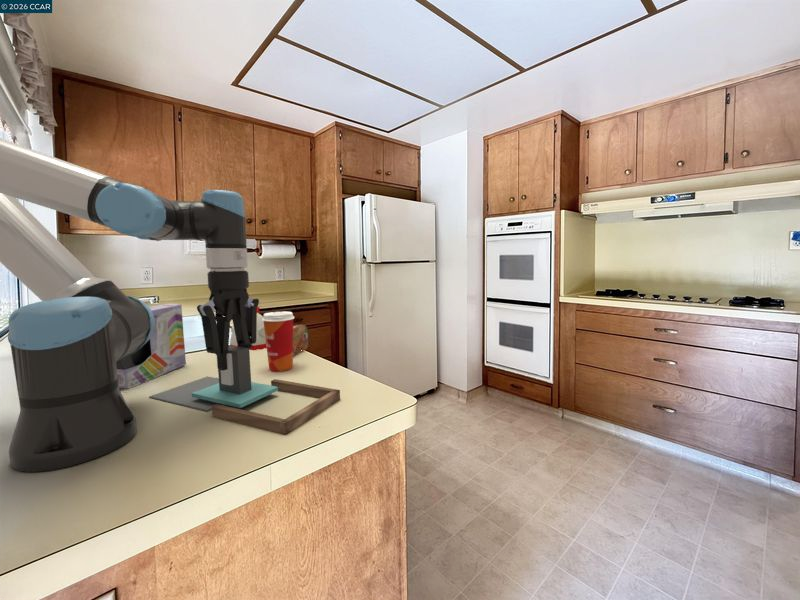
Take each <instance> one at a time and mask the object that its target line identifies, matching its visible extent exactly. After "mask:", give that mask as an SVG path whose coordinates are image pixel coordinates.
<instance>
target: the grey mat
mask: <svg viewBox="0 0 800 600" xmlns="http://www.w3.org/2000/svg"><path fill="white" fill-rule="evenodd" d="M218 383H219V377H218V378H217V377H212V376H205V377H201V378H199V379H196V380H193V381H190V382H187V383H183V384H181V385H179V386H176V387H173V388H170V389H167V390H164V391H161V392H158V393H155V394H153V395H149V399H153V400H157V401H161V402H166V403H170V404H175V405H178V406H182V407H187V408H191V409H194V410H195V409H196V410H199V411H204V412H209V411H212V406H214V405H217V404H219V405H223V406H224V404H221V403H216V402H212V401H208V400H203V399H199V398H195V397H192V394H191V393H193V392H196V391H199V390H201V389H204V388H207V387H210V386H212V385H215V384H218Z"/></svg>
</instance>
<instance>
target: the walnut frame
mask: <svg viewBox="0 0 800 600" xmlns="http://www.w3.org/2000/svg"><path fill="white" fill-rule="evenodd" d="M270 385H271V386H276V387H278V391H279V392H283V393H290V394H295V395H300V396H306V397H313V398H317V399H316V400H315V401H313V402H311V403H309V404H308V405H306V406H305V407H303V408H301V409H300V410H297V411H296V412H294V413H292V414H291V415H290V416H288V417H286V418H281V417H277V416H276V417H275V416H271V415H267V414H263V413H257V412H254V411H249V410H245V409H241V408H238V407H233V406H229V405H224V404H223V405H219V404H217V405H214V406H212V410H211V415H212V417H213V418H216V419H221V420H224V419H225V421H228V422H233V423H236V424H239V425H240V424H241V425H245V426H249V427H253V428H257V429H261V430H265V431H268V432H274V433H278V434H282V435H288V434H289V433H290V432H293V430H295V429H297V428H298V427H300V426H301V425H303V424H304V423H306V422H308V421H309V420H310V419H312V418H314V417H315V416H317V415H319V414H320V413H321V412H323V411H324V410H326V409H328V408H329V407H331V406H332V405H334V404H335V403H337V402H338V401H340V400H341V389H337V388H330V387H329V388H328V387H325V386H318V385H313V384H305V383H300V382H294V381H287V380H282V379H276V378H275V379H272V380H270ZM278 391H277V392H278Z"/></svg>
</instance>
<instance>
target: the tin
mask: <svg viewBox="0 0 800 600" xmlns="http://www.w3.org/2000/svg"><path fill="white" fill-rule="evenodd" d="M309 344H310V332H309V328H308V327H307V325H305V324H296V325H293V358H294V357H296V356H298V355H300V354H301V353H302V352H303V351H306V350H307V349H308V347H309ZM301 350H302V351H301Z"/></svg>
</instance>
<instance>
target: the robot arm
mask: <svg viewBox="0 0 800 600" xmlns="http://www.w3.org/2000/svg"><path fill="white" fill-rule="evenodd" d="M19 200H20V201H25V202H28V203H31V204H33V205H34V204H35V205H38V206H41V207H44V208H47V209H50V210H54V211H57V212H59V213H63V214H66V215H70V216H73V217H76V218H79V219H82V220H85V221H89V222H92V223H95V224H98V225H101V226H104V227H107V228H109V229H111V231H114V232H116V233H119V234H122V235H125V236H128V237H132V238H133V237H134V238H137V239H139V240H146V241H147V240H149V241H156V242H160V241H204V243H205V259H206V268H207V269H209V270H210V271H208V272H207V286H208V289H209V291H210V294H209V295H210V296H209V298H208V301H207V302H206V303H205V304H198V305H197V307H196V310H197V311H198V313H199V315H200V317H201V318H200V319H201V325H202V329H203V330H202V331H203V336H204V337H203V338H204V344H205V349H206V352H207V353H208V354H215V355H216V362H217V363H216V364H217V365H216V366H217V367H216V368H217V370H221V384H225V385H230V386H231V385H234V381H233V365H232V354H230V353H228V346H230V332H231V321H232V324H233V326H234V330H235V335H236V340H237V345H238V347H244V348H249V349H251V348H252V347H253V345H251V344H255V343H256V331H257V307H259V303H260V300H259V298H253V297H251V296H250V295H249V293H248V290H247V289H248V288H249V287H250V281H249V272H248V271H247V270H246V269H247V268H248V262H249V261H248V245H247V228H246V227H247V225H246V219H247V218H246V215H245V214H246V213H245V212H246V211H245V205H244V204H245V203H244V197H243V196H242V195H241V194H240V193H239V192H237V191H232V190H225V189H213V190H212V189H207V190H204V191H203V192H202V193H201V199H200V200H196V201H195V200H193V201H191V200H173V199H172V200H171V199H170V198H167V197H164V196H162V195H159V194H156V193H154V192H152V191H151V190H149V189H147V188H145V187H143V186H140V185H137V184H134V183H127V182H126V181H122V180H119V179H116V178H113V177H110V176H109V175H105V174H103V173H100V172H97V171H94V170H92V169H88V168H87V167H86V168H85V167H84V166H83V167H82V166H80V165H77V164H74V163H71V162H69V161H66V160H63V159H60V158H58V157H54V156H52V155H48V154H47V153H43V152H40V151H37V150H35V149H32V148H30V147H29V148H28V147H27V146H24V145H20V144H18V143H16V142H12V141H9V140H6V139H3V138H1V137H0V263H1V265H2V266H4V268H6V269H7V270H8V271H9V272H11V274H12V275H13V276H15V278H16V279H18V280H19V281H20V282H21V283H22V284H23V285H24V286H26V288H27V289H28V290H30V292H31V293H33V294H34V295H35V296H36V297H37V298H38V299H39V300H40V301H37V302H33V303H29V304H27V305H24V306H21V307H19V308H16V309H15V310H13V312H11V313H10V315H9V317H8V334H7V342H9V344H10V351H11V357H12V365H13V370H14V377H15V382H16V389H17V395H18V402H19V409H20V410H19V413H18V418H17V422H16V425H15V428H14V432H13V435H12V439H11V440H10V444H9V449H8V455H9V457H8V458H9V462H10V463H9V464H10V467H11V468H12V469H14V470H15V471H20V472H24V473H25V472H26V473H27V472H29V473H30V472H32V473H35V472H46V471H52V470H57V469H63V468H68V467H72V466H75V465H78V464H82V463H85V462H89V461H90V460H94V459H97V458H99V457H102V456H104V455H107V454H109V453H111V452H113V451H115V450H117V449H119V448H121V447H122V446H123V445H125V444H127V443H128V442H129V441H131V440H132V439H133V438H134V437H135V435H136V434H137V431H138V430H137V424H136V423H137V422H136V417H135V415H134V414H133V412H132V410H131V408H130V406H129V405H128V403H127V401H126V399H125V397H124V396H123V394H122V393H121V389H120V388H119V385H118V375H117V366H116V362H117V361H118V360H120V359H122V358H124V357H125V356H128V355H131V354H133V353H135V352H136V351H137V350H138V349H140V348H141V347H142V346H143V345H144V344H146V343H147V341H148V340H149V339H150V338H151V336H152V334H153V331H154V326H155V320H154V316H153V313H152V311H151V309H150V308H149V307H150V306H149V305H148V304H147V303H145V302H144V301H143V300H141V299H139V298H137V297H135V296H131V295H126V293H124V292H123V291H122V290H121V289H120V288H119V287H118V286H117V285H116V284H115V283H114V282H113V281H112V280H111V279H109V278H102V277H101V278H99V277H95V276H94V275H93V273H92V272H91V271H89V269H87V267H86V266H85V265H84V264H82V263H81V261H79V260H78V258H76V257H75V256H74V255H73V253H71V252H70V250H68V249H67V248H66V247H65V246H64V245H63V244H62V243H61V242H60V241H59V240H58V239H57V238H56V236H54V235H53V234H52V233H51V232H50V231H49V230H48V229H47V227H45V226H44V225H43V224H42V223H41V222H40V221H39V220H38V219H37V218H36V217H35V216H34V215H33V214H32V213H31V212H30V211H29V210H28V209H27V208H26V207H25V206H24V205H23V204H22V203H21V202H20V201H19ZM250 337H251V338H250Z"/></svg>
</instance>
